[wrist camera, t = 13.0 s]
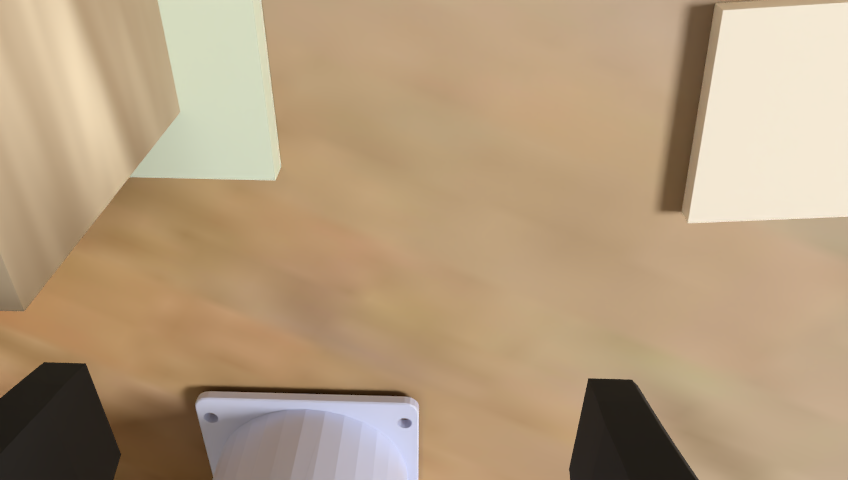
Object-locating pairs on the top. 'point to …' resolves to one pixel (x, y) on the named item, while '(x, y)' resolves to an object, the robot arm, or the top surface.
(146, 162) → the rest board
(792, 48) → the tile
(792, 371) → the top surface
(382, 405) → the robot arm
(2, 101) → the tan wooden block
